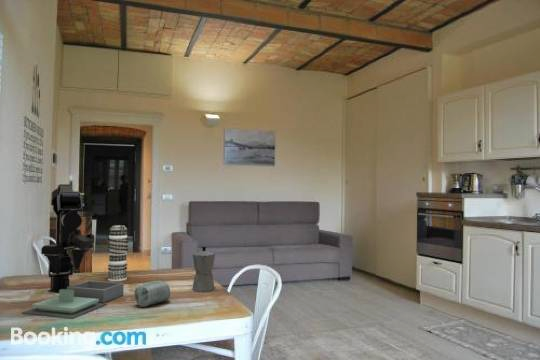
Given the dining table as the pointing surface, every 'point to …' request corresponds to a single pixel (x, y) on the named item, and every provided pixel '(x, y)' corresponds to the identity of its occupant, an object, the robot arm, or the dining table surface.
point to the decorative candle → (117, 253)
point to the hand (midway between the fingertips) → (67, 271)
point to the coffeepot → (203, 271)
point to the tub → (98, 290)
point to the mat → (63, 315)
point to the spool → (152, 293)
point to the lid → (65, 302)
